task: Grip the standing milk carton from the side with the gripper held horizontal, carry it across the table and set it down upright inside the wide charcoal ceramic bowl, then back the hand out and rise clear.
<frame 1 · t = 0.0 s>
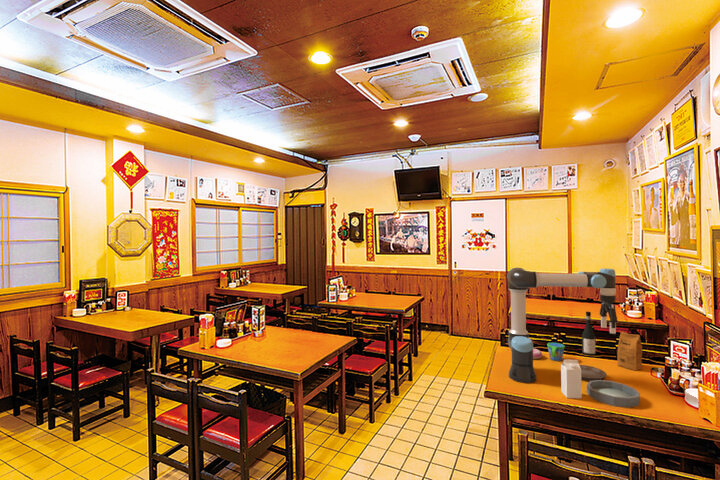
hand: (608, 330, 212), 28 cm above the table, tool pointing down, fingers open, 13 cm apart
milk carton: (571, 395, 189), on the table
donut: (531, 357, 250), on the table
wine bottle: (588, 354, 254), on the table
snack cup: (556, 359, 244), on the table
plant saucer: (585, 376, 215), on the table
coffee package: (629, 367, 228), on the table
bowl: (612, 397, 186), on the table
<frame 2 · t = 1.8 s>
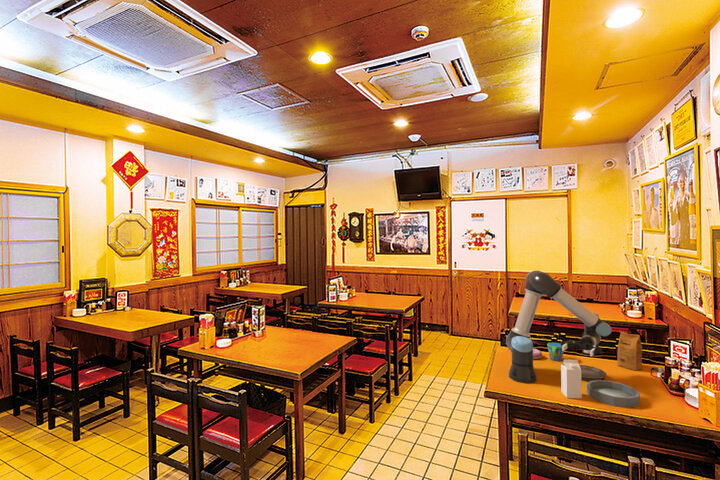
hand: (576, 351, 196), 21 cm above the table, tool horizontal, fingers open, 13 cm apart
nothing on the table moved.
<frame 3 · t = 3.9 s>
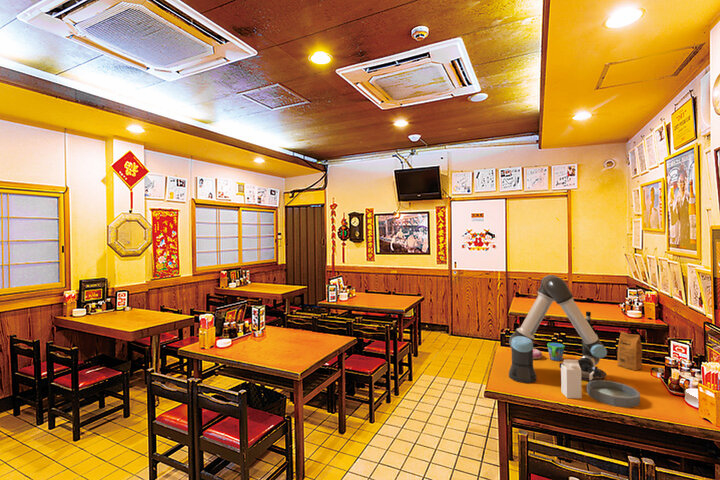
hand: (575, 373, 192), 10 cm above the table, tool horizontal, fingers open, 13 cm apart
nothing on the table moved.
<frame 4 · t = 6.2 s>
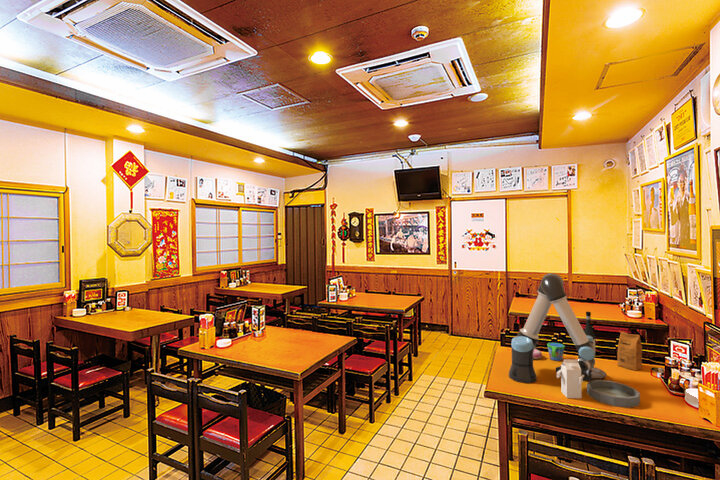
hand: (568, 378, 186), 11 cm above the table, tool horizontal, fingers closed on milk carton, 10 cm apart
milk carton: (571, 395, 189), on the table, touching gripper
everything else where it was.
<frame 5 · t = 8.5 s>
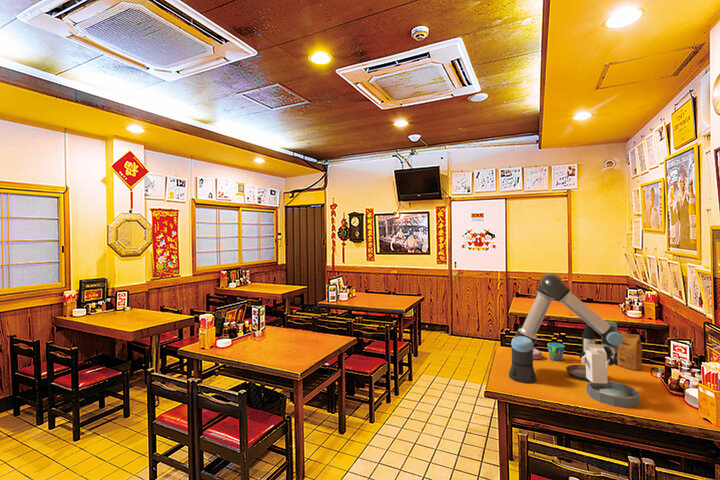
hand: (593, 362, 184), 19 cm above the table, tool horizontal, fingers closed on milk carton, 10 cm apart
milk carton: (596, 381, 187), point 8 cm above the table, touching gripper
everything else where it was.
when the fingers open (13 cm above the table, at t = 11.1 s): milk carton drops 1 cm, resting on bowl.
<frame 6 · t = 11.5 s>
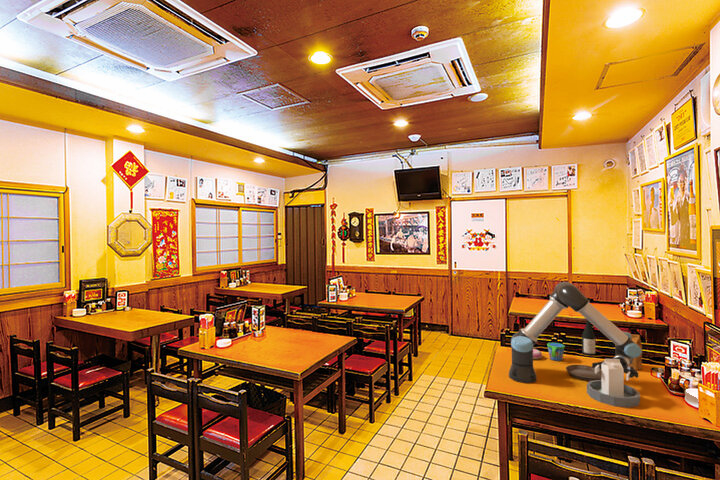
hand: (610, 374, 184), 13 cm above the table, tool horizontal, fingers open, 13 cm apart
milk carton: (612, 395, 187), point 1 cm above the table, touching bowl
everything else where it was.
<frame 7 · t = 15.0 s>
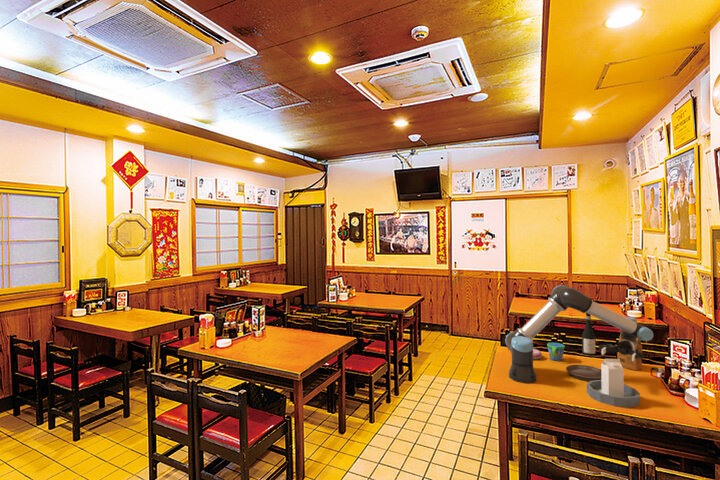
hand: (617, 355, 193), 20 cm above the table, tool horizontal, fingers open, 13 cm apart
nothing on the table moved.
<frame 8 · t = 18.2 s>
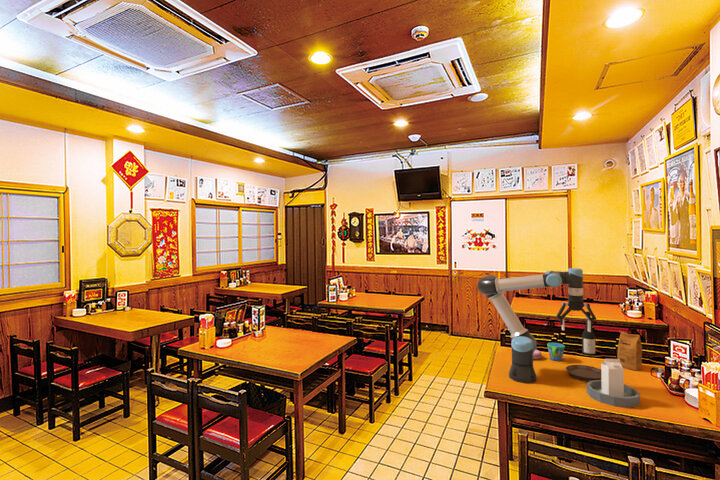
hand: (576, 330, 210), 29 cm above the table, tool pointing down, fingers open, 13 cm apart
at the end: milk carton inside the target area on the bowl (0.1 cm from its centre), point 0.8 cm above the bowl's base; milk carton tilted 0°; the gripper is holding nothing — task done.
